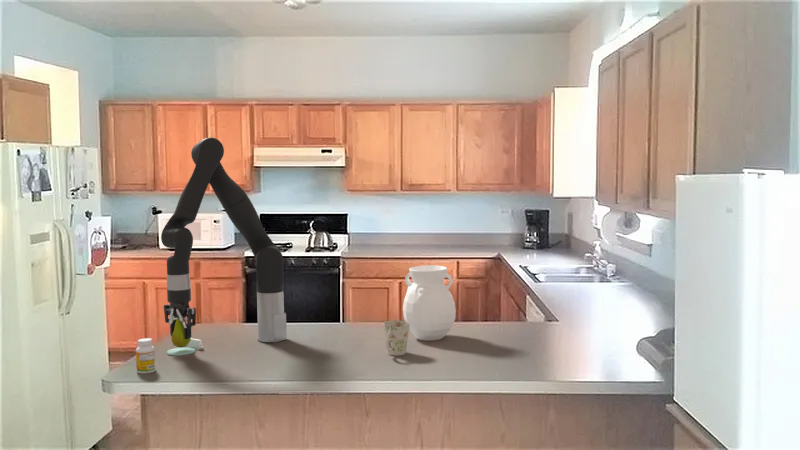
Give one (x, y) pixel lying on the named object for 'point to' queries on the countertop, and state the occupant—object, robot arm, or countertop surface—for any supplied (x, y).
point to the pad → (181, 351)
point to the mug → (396, 337)
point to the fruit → (179, 335)
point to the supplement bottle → (145, 356)
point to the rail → (195, 344)
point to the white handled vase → (429, 302)
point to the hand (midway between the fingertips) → (180, 337)
